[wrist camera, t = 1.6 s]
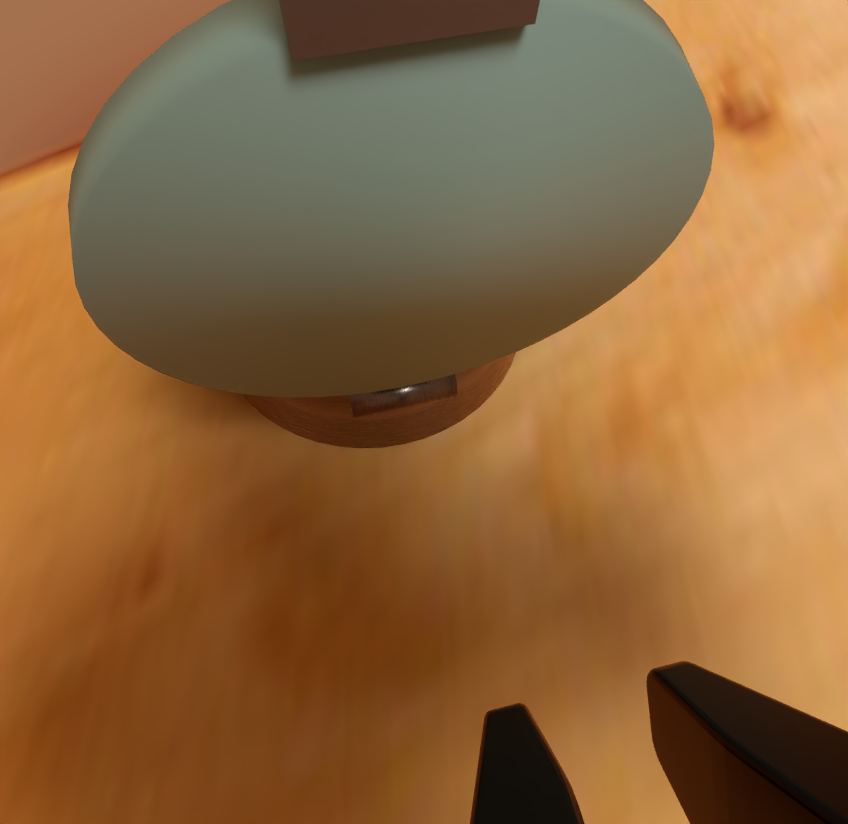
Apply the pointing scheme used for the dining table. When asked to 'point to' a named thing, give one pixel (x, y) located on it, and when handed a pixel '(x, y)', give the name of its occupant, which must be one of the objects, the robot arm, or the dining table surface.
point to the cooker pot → (386, 409)
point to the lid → (381, 186)
